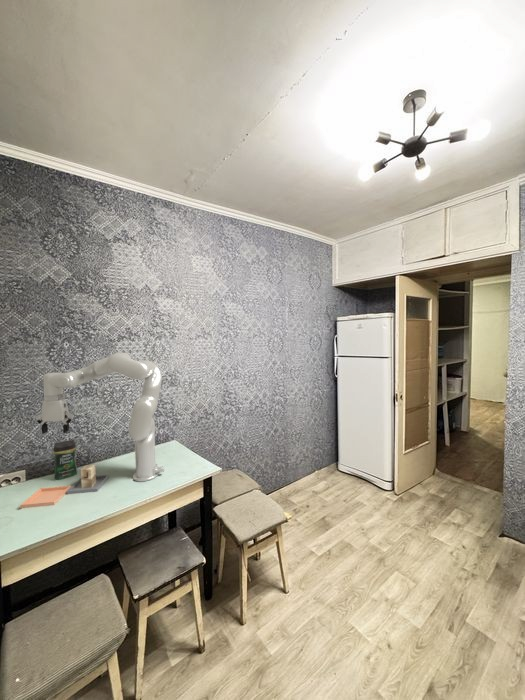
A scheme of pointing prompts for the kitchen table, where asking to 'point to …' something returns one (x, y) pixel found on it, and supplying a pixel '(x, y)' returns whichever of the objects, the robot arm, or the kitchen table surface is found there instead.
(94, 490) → the charcoal tray
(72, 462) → the coffee jar
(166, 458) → the kitchen table surface
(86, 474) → the notched wooden block
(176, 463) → the kitchen table surface
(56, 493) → the terracotta dish
